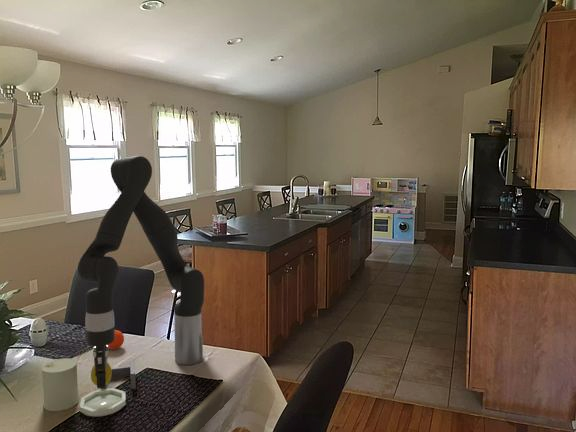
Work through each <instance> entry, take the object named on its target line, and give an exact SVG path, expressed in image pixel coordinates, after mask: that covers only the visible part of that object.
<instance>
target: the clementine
mask: <svg viewBox="0 0 576 432" xmlns="http://www.w3.org/2000/svg"><path fill="white" fill-rule="evenodd" d="M124 341H125V336H124V334H123V333H122V331H120V330H119V329H118V330H117V329H115V339H114V341H113V342H112V343H110V344H107V346H109V349H110V350H116V349H117V350H118V349H119V348H121V347H122V345H123V344H124Z"/></svg>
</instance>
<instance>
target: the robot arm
mask: <svg viewBox="0 0 576 432" xmlns="http://www.w3.org/2000/svg"><path fill="white" fill-rule="evenodd" d="M110 175H111V179H112V181H113V182H114V184H115V186H116V187H117V189H118V190H119V192H120V194H119V196H118V197H117V199H116V200H115V201H114V203H113V204H112V205H111V206H110V207H109V208H108V210H107V211H106V213H105V214H104V215H103V218H102V219H101V222H100V224H99V227H98V230H97V232H96V235H95V238H93V241H92V242H91V243H90V244H89V245H88V247H87V248H86V250H85V252H84V253H83V254H82V256H81V257H80V260H79V261H78V264H77V273H78V276H79V277H80V278H81V279H83V280H84V281H90V282H98V287H95V288H90V289H89V290H88V291H87V292H86V293H85V318H84V319H85V321H84V323H85V342H86V344H87V345H88V346H90V347H93V351H92V356H93V366H94V367H95V373H96V374H95V375H96V377H97V386H96V387H97V389H101V388H105V386H106V378H105V375H106V366H107V363H108V359H109V346H107V344H110V343H112V342H113V341H114V339H115V330H116V329H115V313H114V302H113V297H114V295H113V294H114V291H115V287H116V282H117V279H118V276H119V265H118V261H116V259H115V258H114V257H112V256H107V255H106V254H108V253H110V252H111V253H112V252H116V251H118V250H119V248H120V246H121V244H122V241H123V239H124V235H125V232H126V230H127V226H128V225H129V221H130V219H131V217H132V215H133V214H134V215H135V218H136V219H137V220H138V223H139V224H140V226H141V229H142V231H143V232H144V234H145V236H146V239H147V240H148V241H149V244H150V245H151V247H152V249H153V250H154V252H155V254H156V255H157V257H158V259H159V261H160V263H161V265H162V267H163V269H164V272H165V274H166V277H167V280H168V282H169V284H170V287H171V288H172V289H173V290H174V291H176V292H178V293H180V298H179V299H180V301H179V302H177V303H176V304H175V305H174V307H173V308H174V309H173V310H174V311H173V320H174V323H173V325H174V327H173V328H174V361H175V363H176V364H178V365H182V366H190V365H194V364H195V365H196V364H199V362H203V361H204V354H203V353H204V349H203V348H204V347H203V344H204V343H203V340H204V337H203V333H202V330H203V329H202V307H203V306H204V302H205V277H204V274H203V272H201V271H200V270H199V269H197V268H194V267H192V266H188V264H187V263H186V261H185V260H184V258H183V257H182V256H183V255H181V253H180V250H179V246H178V245H179V239H178V232H177V229H176V226H175V225H174V223H173V221H172V220H171V219H172V218H171V217H170V216H169V214H168V212H166V211H165V210H164V209H163V208H162V207H161V205H158V203H156V202H155V201H153V200H152V198H150V197H149V196H148V195H147V193H146V192H145V191H146V188H147V186H149V183H150V181H151V178H152V177H153V176H152V175H153V166H152V164H151V162H150V160H149V159H148V158H146V157H145V156H142V155H135V156H133V155H132V156H128V157H127V156H126V157H123V158H118V159H115V160H114V161H113V162H112V163H111V165H110ZM99 369H103V371H98V370H99ZM106 387H107V386H106Z"/></svg>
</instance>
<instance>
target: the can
mask: <svg viewBox="0 0 576 432" xmlns="http://www.w3.org/2000/svg"><path fill="white" fill-rule="evenodd" d="M77 369H78V361H76V360H75V359H74V358H68V357H67V358H65V357H64V358H57V359H53V360H51V361H47V362H45V363H44V364H43V366H41V375H42V390H43V391H42V393H43V408H44V409H45V410H46V411H49V412H61V411H66V410H68V409H70V408H73V407H74V406H76V405H77V404H78V403H79V400H80V398H79V388H78V370H77Z"/></svg>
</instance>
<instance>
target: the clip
mask: <svg viewBox="0 0 576 432" xmlns="http://www.w3.org/2000/svg"><path fill="white" fill-rule="evenodd" d="M135 360H136V359H135V358H134V359H133V358H132V359H130V360H129V364H130V365H123V366H116V367H115V366H114V367H111V370H112V376H111V379H115V378H117V379H118V378H122V377H130V390H136V389H137V385H136V384H137V383H136V380H137V379H136V378H137V377H136V361H135ZM107 385H108V384H106V386H105V388H100V390H102V389H107Z"/></svg>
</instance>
